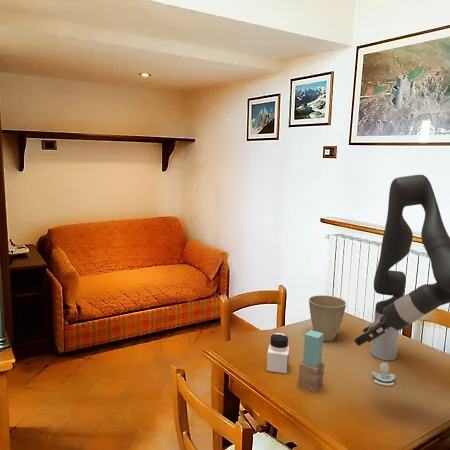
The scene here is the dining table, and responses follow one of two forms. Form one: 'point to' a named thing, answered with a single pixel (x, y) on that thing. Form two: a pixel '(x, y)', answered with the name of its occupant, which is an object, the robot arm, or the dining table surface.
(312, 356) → the pillar
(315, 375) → the tower upper slab
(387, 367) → the pacifier
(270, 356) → the medicine bottle
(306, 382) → the tower base slab
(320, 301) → the plant pot
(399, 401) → the dining table surface
